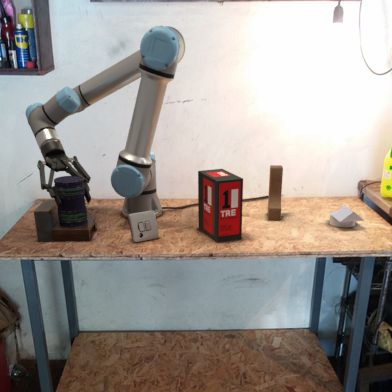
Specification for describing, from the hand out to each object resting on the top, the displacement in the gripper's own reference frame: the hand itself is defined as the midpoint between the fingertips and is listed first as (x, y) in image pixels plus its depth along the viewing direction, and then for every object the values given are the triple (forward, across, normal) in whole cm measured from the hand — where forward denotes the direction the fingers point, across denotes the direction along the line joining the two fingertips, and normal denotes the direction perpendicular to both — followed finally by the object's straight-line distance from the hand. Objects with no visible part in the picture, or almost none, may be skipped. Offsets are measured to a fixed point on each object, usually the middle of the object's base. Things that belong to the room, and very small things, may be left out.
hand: (74, 202), depth 191 cm
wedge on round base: (+39, -83, +23) cm, 95 cm away
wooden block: (+23, -70, +7) cm, 74 cm away
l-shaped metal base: (+5, +2, -11) cm, 13 cm away
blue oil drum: (+3, 0, -8) cm, 9 cm away
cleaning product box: (+26, -41, +10) cm, 50 cm away
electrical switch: (+19, -17, +2) cm, 25 cm away
